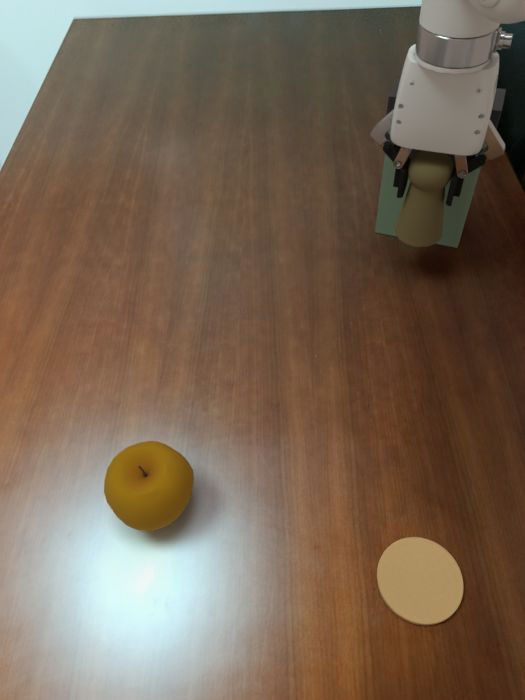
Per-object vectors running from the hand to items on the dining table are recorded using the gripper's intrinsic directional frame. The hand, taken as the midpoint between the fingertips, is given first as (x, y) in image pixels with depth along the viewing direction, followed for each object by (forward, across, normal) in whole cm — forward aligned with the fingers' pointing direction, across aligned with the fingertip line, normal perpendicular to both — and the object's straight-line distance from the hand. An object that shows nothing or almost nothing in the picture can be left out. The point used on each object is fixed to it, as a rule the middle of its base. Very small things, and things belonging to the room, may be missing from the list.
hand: (425, 194), depth 71 cm
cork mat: (+13, -8, +42) cm, 44 cm away
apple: (+13, +18, +42) cm, 48 cm away
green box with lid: (+12, 0, -8) cm, 15 cm away
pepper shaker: (+6, 0, 0) cm, 6 cm away
